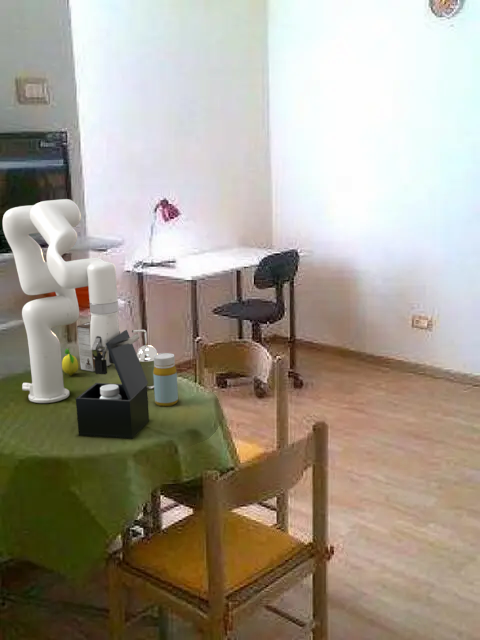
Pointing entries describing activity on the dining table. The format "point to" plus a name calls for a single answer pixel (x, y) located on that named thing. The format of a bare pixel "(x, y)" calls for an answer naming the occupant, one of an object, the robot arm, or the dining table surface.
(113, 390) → the pill bottle
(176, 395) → the bottle
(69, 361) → the lemon
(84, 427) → the waste bin
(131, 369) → the bin lid
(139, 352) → the cup with straw
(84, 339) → the coffee box
